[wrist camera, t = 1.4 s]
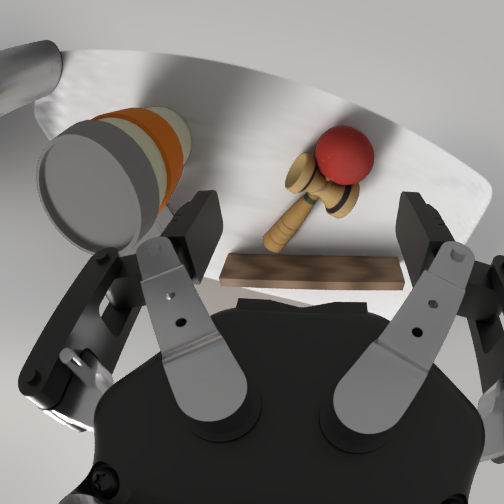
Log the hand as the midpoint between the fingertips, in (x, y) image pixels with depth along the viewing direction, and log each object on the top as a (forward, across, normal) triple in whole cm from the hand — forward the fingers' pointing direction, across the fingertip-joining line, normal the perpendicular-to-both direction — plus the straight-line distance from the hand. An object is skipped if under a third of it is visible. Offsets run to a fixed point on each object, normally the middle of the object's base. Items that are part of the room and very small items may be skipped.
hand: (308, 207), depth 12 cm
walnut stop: (+20, 0, +20) cm, 28 cm away
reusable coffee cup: (+20, +18, +2) cm, 27 cm away
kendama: (+20, 0, +9) cm, 22 cm away
